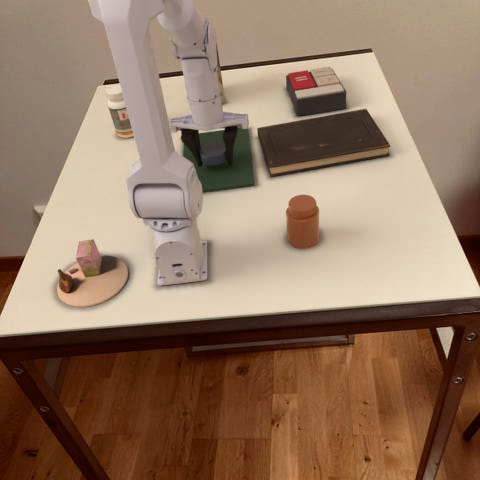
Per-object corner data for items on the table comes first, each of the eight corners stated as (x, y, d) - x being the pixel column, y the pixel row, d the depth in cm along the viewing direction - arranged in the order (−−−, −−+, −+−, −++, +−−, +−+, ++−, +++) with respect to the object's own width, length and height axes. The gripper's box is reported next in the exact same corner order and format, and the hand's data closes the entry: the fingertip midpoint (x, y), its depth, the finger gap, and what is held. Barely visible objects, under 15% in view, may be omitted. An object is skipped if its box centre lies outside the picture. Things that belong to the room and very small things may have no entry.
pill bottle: (144, 134, 115) (132, 90, 107) (120, 141, 114) (106, 97, 106) (138, 123, 118) (126, 80, 111) (114, 130, 117) (101, 88, 110)
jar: (321, 246, 82) (321, 209, 77) (289, 250, 82) (287, 214, 77) (316, 226, 85) (315, 190, 80) (285, 230, 86) (283, 195, 80)
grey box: (332, 64, 118) (346, 88, 108) (332, 83, 121) (346, 108, 111) (285, 71, 119) (295, 96, 108) (286, 90, 122) (296, 116, 111)
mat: (254, 185, 96) (254, 183, 95) (181, 195, 97) (180, 192, 96) (248, 129, 110) (247, 126, 110) (184, 137, 111) (184, 135, 111)
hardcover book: (389, 156, 97) (390, 145, 95) (270, 177, 97) (269, 166, 95) (364, 117, 107) (365, 107, 106) (257, 136, 108) (256, 126, 106)
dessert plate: (62, 261, 87) (52, 241, 84) (131, 251, 87) (123, 230, 84) (51, 312, 79) (39, 291, 76) (127, 300, 79) (118, 279, 76)
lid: (206, 149, 101) (205, 140, 100) (233, 151, 100) (231, 142, 98) (196, 164, 98) (194, 155, 96) (223, 166, 96) (221, 157, 95)
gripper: (247, 81, 91) (254, 150, 101) (169, 87, 93) (184, 153, 103) (242, 100, 86) (250, 170, 96) (160, 105, 89) (177, 173, 99)
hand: (216, 163), depth 100 cm, fingers closed on lid, 5 cm apart
